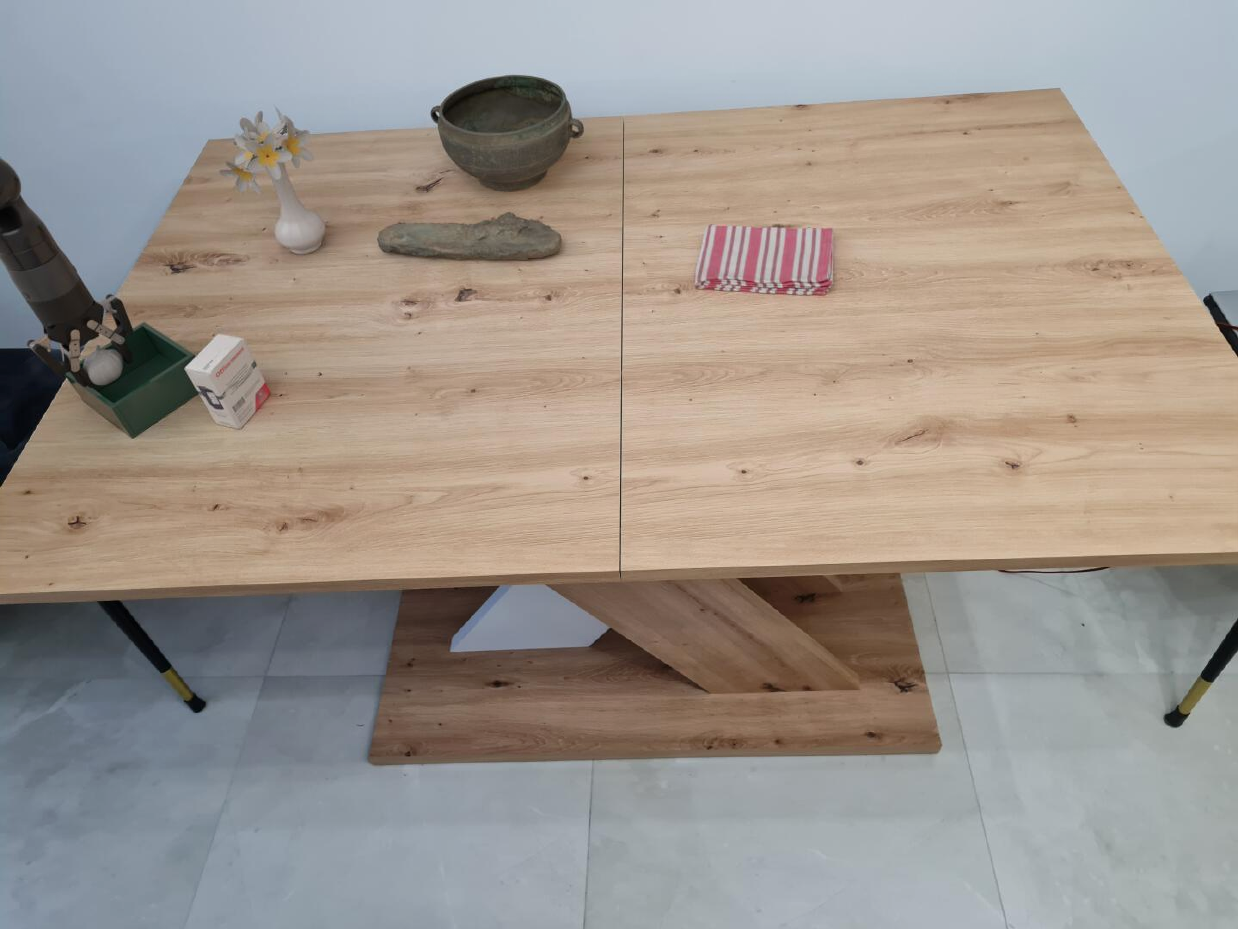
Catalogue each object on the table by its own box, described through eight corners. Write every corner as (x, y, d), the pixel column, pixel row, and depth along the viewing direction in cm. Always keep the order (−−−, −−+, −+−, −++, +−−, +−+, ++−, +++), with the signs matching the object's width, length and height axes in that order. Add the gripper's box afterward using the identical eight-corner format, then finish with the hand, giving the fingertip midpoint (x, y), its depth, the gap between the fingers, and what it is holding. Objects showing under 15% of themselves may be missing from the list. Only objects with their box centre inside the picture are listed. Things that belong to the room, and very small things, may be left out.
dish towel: (832, 297, 150) (834, 280, 147) (692, 290, 154) (692, 273, 151) (833, 238, 161) (835, 221, 159) (703, 233, 165) (703, 216, 162)
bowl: (608, 147, 188) (602, 76, 177) (566, 216, 172) (557, 143, 160) (467, 134, 196) (453, 65, 185) (415, 199, 180) (396, 128, 168)
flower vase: (254, 276, 166) (198, 150, 147) (293, 219, 178) (245, 96, 159) (321, 278, 164) (272, 151, 145) (355, 220, 176) (314, 96, 157)
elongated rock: (392, 234, 174) (376, 268, 168) (383, 211, 170) (366, 244, 164) (567, 231, 167) (557, 266, 161) (562, 207, 163) (552, 242, 157)
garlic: (110, 361, 140) (93, 335, 137) (137, 368, 139) (121, 342, 135) (82, 387, 137) (65, 361, 133) (110, 393, 135) (93, 367, 131)
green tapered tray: (132, 439, 139) (111, 408, 134) (83, 401, 145) (62, 371, 141) (211, 385, 146) (194, 354, 141) (161, 351, 153) (144, 321, 148)
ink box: (247, 387, 145) (217, 330, 136) (272, 393, 144) (244, 336, 135) (214, 424, 140) (181, 367, 131) (240, 430, 138) (209, 373, 130)
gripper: (82, 249, 130) (137, 338, 143) (-13, 301, 123) (52, 390, 136) (110, 265, 127) (163, 356, 139) (13, 320, 120) (78, 410, 132)
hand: (108, 372), depth 137 cm, fingers closed on garlic, 6 cm apart
